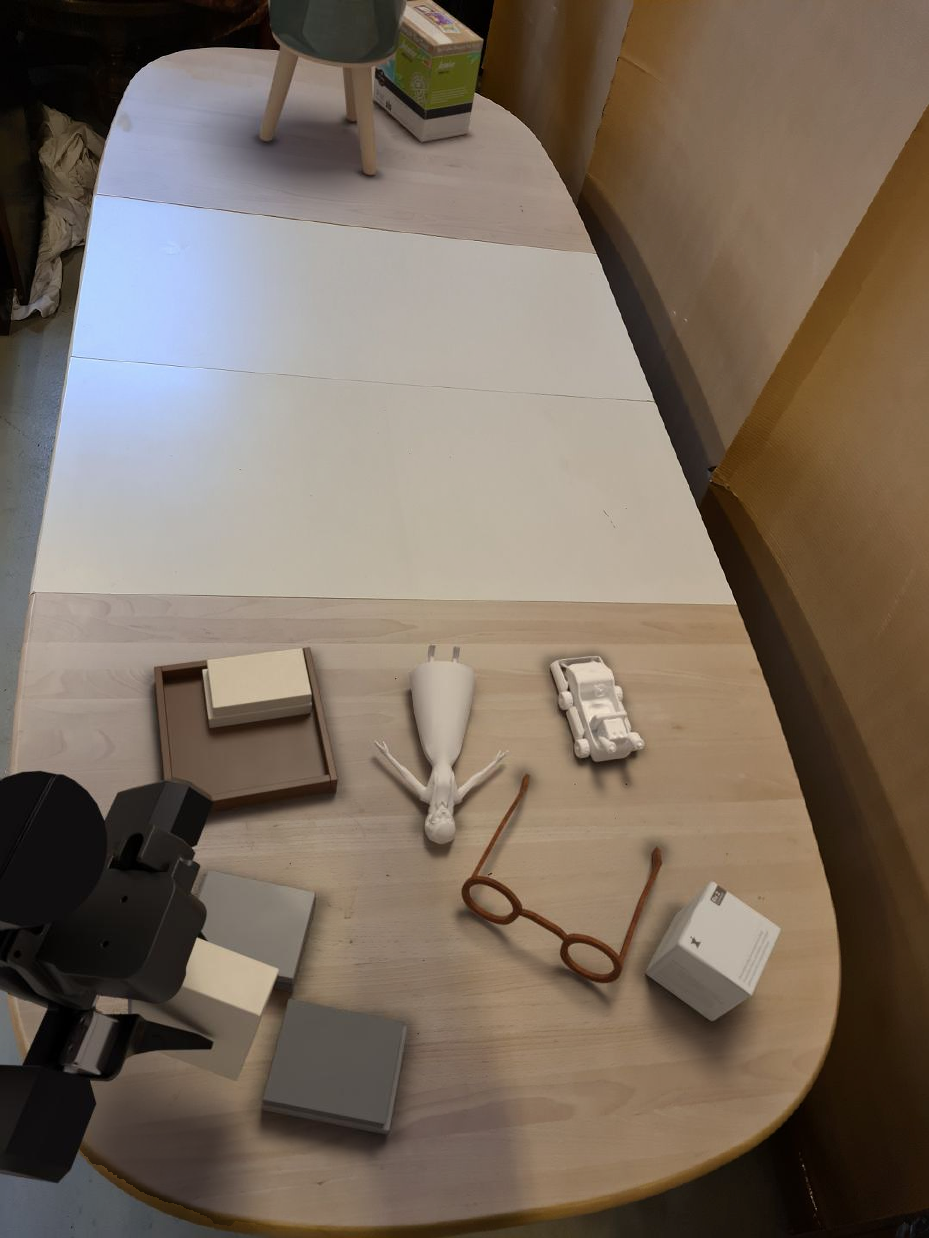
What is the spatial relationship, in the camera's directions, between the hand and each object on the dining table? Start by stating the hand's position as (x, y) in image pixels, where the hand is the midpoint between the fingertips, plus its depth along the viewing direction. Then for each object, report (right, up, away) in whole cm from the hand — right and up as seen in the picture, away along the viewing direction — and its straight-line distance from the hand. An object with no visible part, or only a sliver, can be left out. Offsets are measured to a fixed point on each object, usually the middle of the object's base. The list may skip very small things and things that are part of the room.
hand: (218, 1013), depth 49 cm
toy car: (+25, +13, +33) cm, 43 cm away
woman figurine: (+11, +10, +28) cm, 32 cm away
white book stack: (-4, +15, +27) cm, 31 cm away
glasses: (+22, +1, +23) cm, 31 cm away
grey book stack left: (-2, -1, +16) cm, 16 cm away
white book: (-3, -4, +5) cm, 7 cm away
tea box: (+6, +106, +99) cm, 145 cm away
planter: (-7, +96, +88) cm, 131 cm away
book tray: (-5, +12, +25) cm, 29 cm away
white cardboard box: (+32, -5, +20) cm, 38 cm away
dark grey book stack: (+5, -9, +11) cm, 15 cm away
